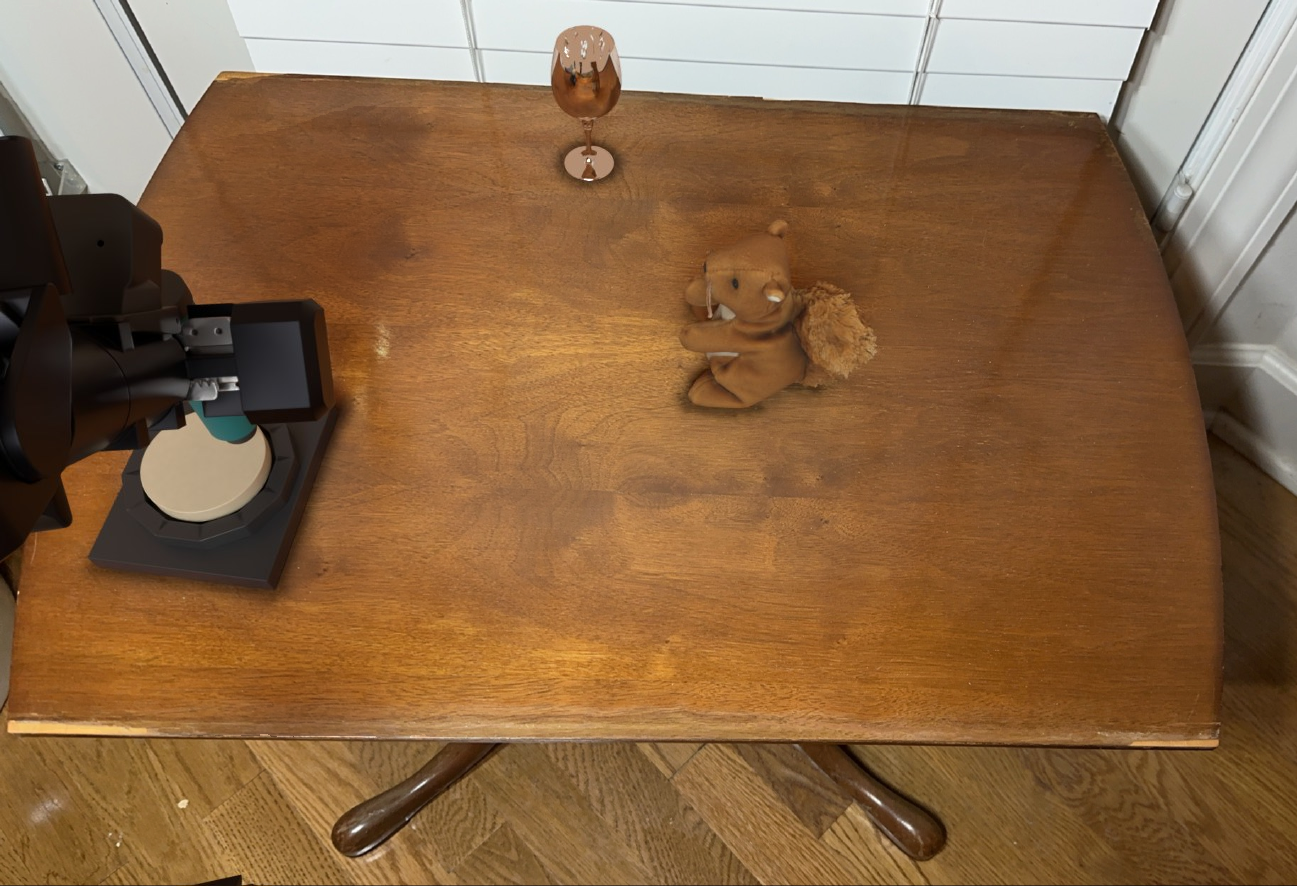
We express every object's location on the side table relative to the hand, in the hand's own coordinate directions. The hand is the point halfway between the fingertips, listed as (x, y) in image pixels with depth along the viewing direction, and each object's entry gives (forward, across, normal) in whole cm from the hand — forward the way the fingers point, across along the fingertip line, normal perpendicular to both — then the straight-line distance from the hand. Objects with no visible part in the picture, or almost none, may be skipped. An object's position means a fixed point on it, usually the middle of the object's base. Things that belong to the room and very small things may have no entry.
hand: (202, 346), depth 55 cm
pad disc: (+5, +3, +9) cm, 11 cm away
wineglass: (+29, -24, -11) cm, 40 cm away
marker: (+4, 0, +6) cm, 7 cm away
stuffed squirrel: (+13, -37, +5) cm, 39 cm away
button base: (+7, +3, +11) cm, 13 cm away
